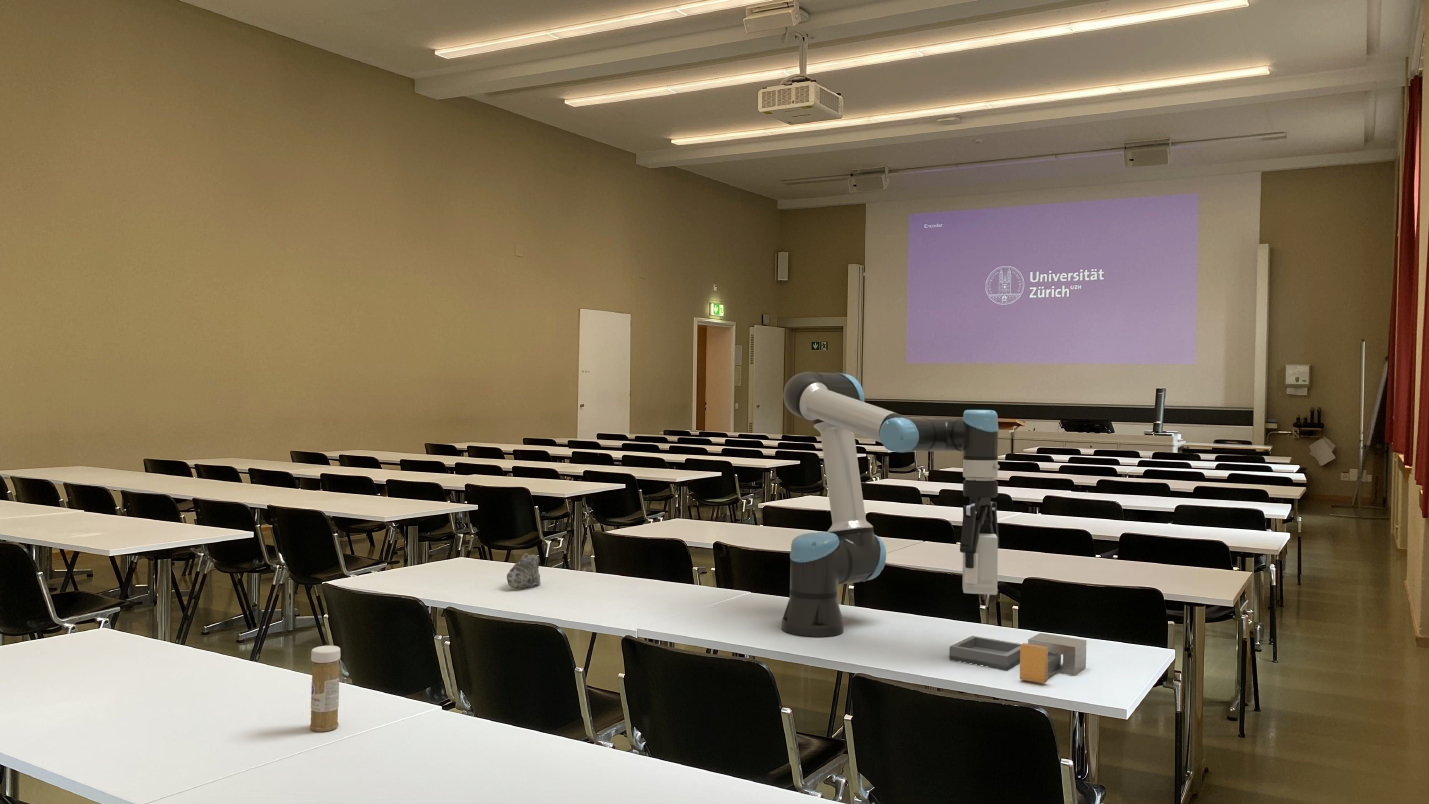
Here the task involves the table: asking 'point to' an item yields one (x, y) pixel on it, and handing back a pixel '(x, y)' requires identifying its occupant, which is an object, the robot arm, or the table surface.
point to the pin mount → (1064, 650)
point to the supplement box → (984, 566)
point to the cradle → (986, 652)
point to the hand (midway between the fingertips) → (979, 579)
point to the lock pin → (1037, 663)
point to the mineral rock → (524, 572)
